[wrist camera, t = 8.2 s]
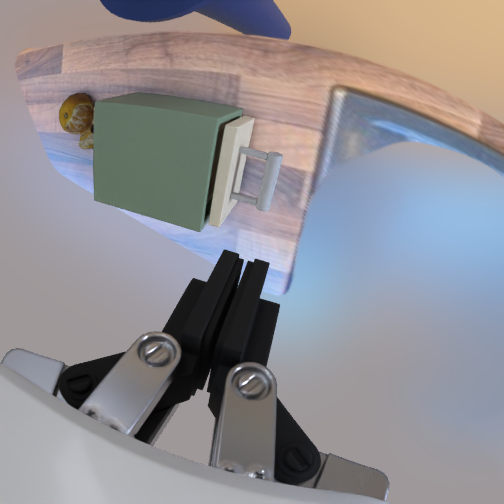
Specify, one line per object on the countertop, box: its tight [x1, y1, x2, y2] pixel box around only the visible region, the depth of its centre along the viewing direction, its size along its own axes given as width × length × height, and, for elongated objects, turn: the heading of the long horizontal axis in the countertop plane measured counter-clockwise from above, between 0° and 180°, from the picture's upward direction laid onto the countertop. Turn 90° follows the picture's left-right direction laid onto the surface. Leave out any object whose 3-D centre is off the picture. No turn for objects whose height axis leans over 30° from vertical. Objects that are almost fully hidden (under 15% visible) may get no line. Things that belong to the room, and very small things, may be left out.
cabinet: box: [93, 92, 243, 232], centre depth 31 cm, size 14×12×9 cm
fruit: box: [59, 93, 95, 149], centre depth 33 cm, size 8×8×4 cm
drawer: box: [206, 116, 283, 227], centre depth 31 cm, size 17×10×7 cm, turn 78°
